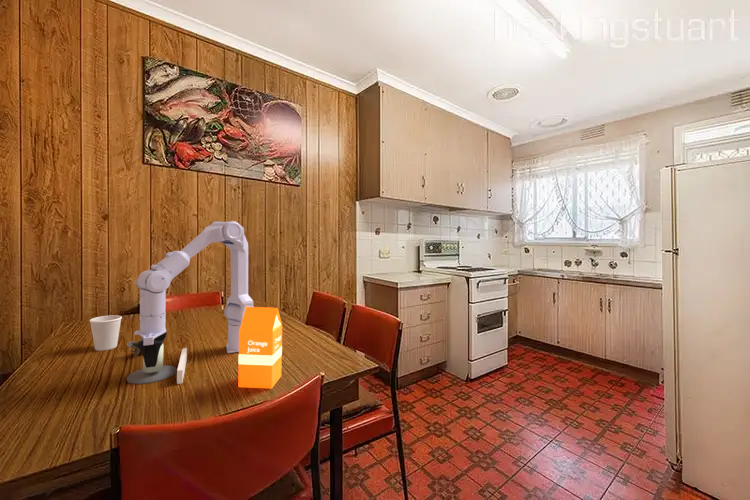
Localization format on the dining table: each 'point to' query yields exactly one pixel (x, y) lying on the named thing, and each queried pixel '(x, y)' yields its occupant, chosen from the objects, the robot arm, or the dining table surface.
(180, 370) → the divider wall
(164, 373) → the rubber mat
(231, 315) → the robot arm
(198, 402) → the dining table surface
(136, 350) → the eagle figurine
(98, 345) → the dixie cup
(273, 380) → the orange juice
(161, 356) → the sage cylinder
